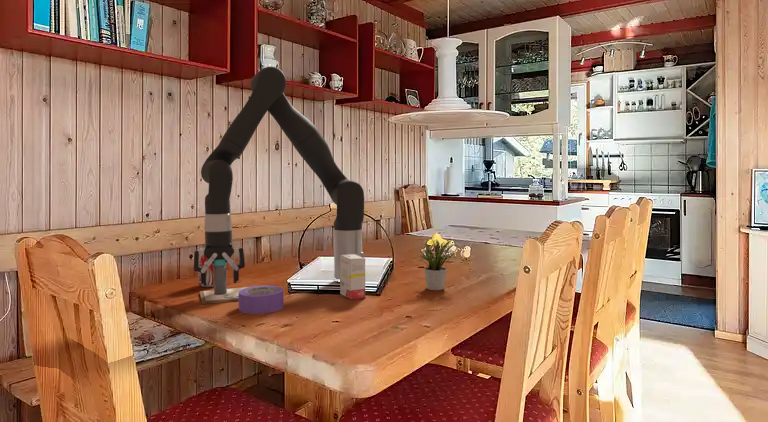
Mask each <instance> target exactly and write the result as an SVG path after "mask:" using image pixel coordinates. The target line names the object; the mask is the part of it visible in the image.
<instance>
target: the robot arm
mask: <svg viewBox="0 0 768 422" xmlns="http://www.w3.org/2000/svg"><path fill="white" fill-rule="evenodd" d="M286 87H287V78H286V76H285V73H284V72H283V70H281V69H280V68H278V67H276V66H267V67H263V68H261V69H260V70H259V71H258V72H257V73H255V74H254V75H253V77H252V78H251V81H250V90H251V93H250V95H249V98H248V99H247V101H246V103H245V104H244V105H243V108H241V110H240V111H239V113H238V114H237V115H236V117H235V118H234V119H233V121H232V122H231V123H230V125H229V126H228V128H227V129H226V132H225V133H224V135H222V138H220V141H219V143H218V145H217V146H216V147H215V148H214V149H213V150H212V152H211V153H210V154H209V156H207V158H206V159H205V161H204V162H203V164H202V166H201V168H200V176H201V178H202V180H203V181H204V182H206V183H207V184H208V192H207V194H206V195H205V197H204V228H203V229H204V246H205V250H199V249H195V250H194V251H193V271H194V272H197V273H198V272H200V273H201V283H202V284H204V286H206V272H205V271H206V270H207V268H208V267H209V266H210V265H211V263H213V264H214V260H222V259H225V262H226V264H227V263H228V264H229V265H230V266H231V267H232V269H233V270H232V275H233V276H232V278H233V281H232V282H233V284H237V282H239V280H240V277H239V276H240V274H239V273H240V272H239V271H240V270H241V269H244V268H245V267H246V264H245V250H244V248H243V247H242V246H240V247H235V248H234V247H233V225H232V216H231V194H232V193H231V192H232V186H233V181H234V177H233V175H234V174H233V169H232V167H231V166H232V164H233V162H234V161H236V160H238V159H239V158H240V157H241V156H242V154H243V153H244V151H245V150H246V148H247V146H248V144H249V142H250V141H251V139H252V138H253V136H254V133H255V132H256V130H257V129H258V128H259V127H258V126H259V125H260V123H261V122H262V120H263V118H264V116H265V115H266V113H267V112H268V113H269V114H270V115H271V116H272V117H273V118H274V120H275V122H276V123H277V124H278V126H279V128H280V129H281V130H282V132H283V133H284V135H285V136H286V138H287V139H288V140H289V141H290V144H291V145H292V146H293V148H294V149H295V150H296V151H297V152H298V154H299V155H300V156H301V158H302V159H303V161H304V162H305V163H306V165H307V166H308V167H309V168H310V169H311V170H312V172H313V173H314V174H315V175H316V176H317V177H318V179H319V180H320V182H321V183H322V185H323V187H324V188H325V190H326V192H327V194H328V195H329V197H330V199H331V200H332V202H333V203H334V204H335V205H336V217H335V220H334V221H333V256H334V257H333V260H334V261H333V264H334V265H333V267H334V269H333V271H334V274H333V275H334V277H333V278H336V279H340V255H348V254H355V255H358V256H360V257H362V258H365V252H363V223H364V218H365V192H364V188H363V187H362V185H361V184H360V183H359V182H357V181H354V180H350V179H349V178H347V176H345V175H346V174H344V173H343V172H342V170H341V169H340V168H339V166H338V165H337V164H336V162H335V161H336V160H335V159H334V157H333V154H332V152H331V150H330V146H329V145H328V143H327V141H326V139H325V138H324V136H323V135H322V134H321V132H320V131H319V129H318V128H317V127H316V125H315V124H314V123H313V122H311V120H309V118H307V117H306V116H305V115H303V114H302V113H301V112H300V111H298V110H297V109H296V108H295V107H294V106H293V104H292V103H291V102H290V101H289V99H288V97H286V95H285V93H284V92H285V90H286ZM234 253H236V255H237V256H238V260H239V261H238V262H239V263H238V264H236V263H235V261H234V260H233V259H232V257H233V255H234ZM202 254H204V255H205V256H206V257H207V258H208V259H207V260H206V262H205V263H204V265H203V266H202V267H199V258H201V256H202Z"/></svg>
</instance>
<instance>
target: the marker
mask: <svg viewBox="0 0 768 422" xmlns="http://www.w3.org/2000/svg"><path fill="white" fill-rule="evenodd" d="M213 272H214V287H213V290H214V294H215V295H223V294H226V293H227V289H228V282H227V281H228V280H227V263H226V262H225V259H222V260H214V264H213Z"/></svg>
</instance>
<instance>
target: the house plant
mask: <svg viewBox="0 0 768 422" xmlns="http://www.w3.org/2000/svg"><path fill="white" fill-rule="evenodd" d="M432 238H433V239H432ZM432 238H431V237H429V239H430V240H431V241H432V244H433V247H434V251H432V250H431V248H430V245H428V243H426V242H425V241H424V240H420V241H421V242H422V243H423V245H424V246H425V249H423V250H424V253H425V255H420V254H417V256H418V257H420V258H422V259H418V260H417V262H423V263H425V264H426V265H427V266H426V267H424V269H423V270H424V276H425V282H426V288H427V289H428V290H430V291H441V290H444V289H445V285H446V279H447V273H448V268H447V267H444V266H443V265H444V263H449V264H452V262H451V261H454V258H452V257H450V256H451V255H454V253H449V254H447V253H448V252H449V250H450V249H451V248H452V247H454V246H455V245H457V244H459V242H456V243H452V244H451V245H449V244H450V243H451V242H453V241H454V239H451V240H448V241H447V242H446V243H445V241H443V242H442V243H441V244H440V241H439V240H438V239H436V240H435V239H434V237H432ZM444 243H445V244H444ZM416 245H417V246H419V247H421V245H420V244H417V243H416ZM448 245H449V246H448ZM447 246H448V248H447ZM446 248H447V249H446ZM445 249H446V250H445ZM423 259H424V260H426V261H424V260H423ZM448 260H451V261H448Z"/></svg>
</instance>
